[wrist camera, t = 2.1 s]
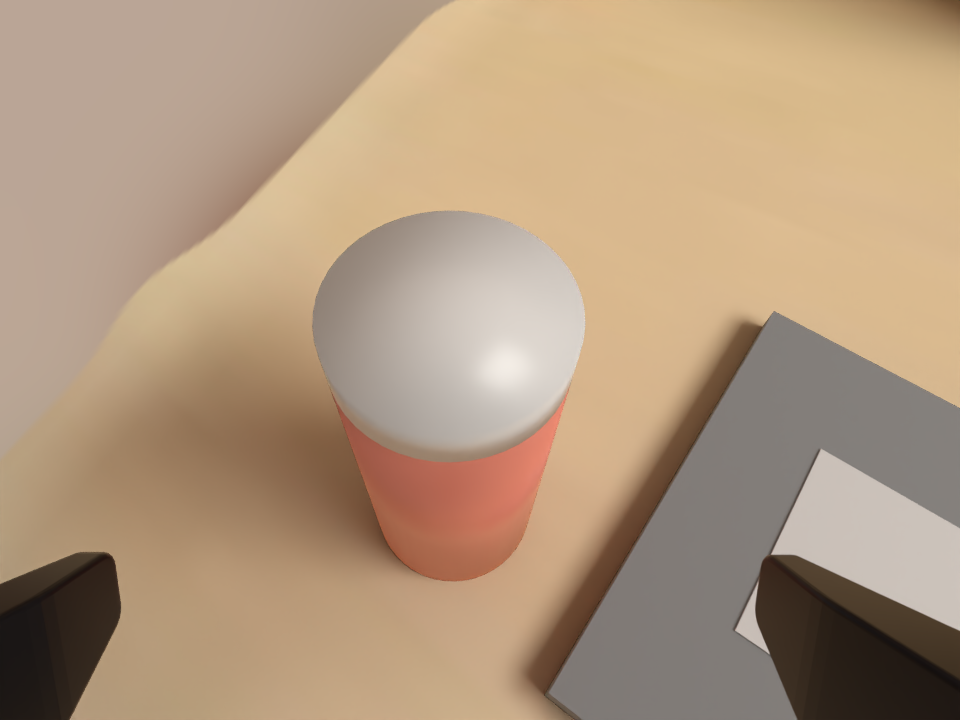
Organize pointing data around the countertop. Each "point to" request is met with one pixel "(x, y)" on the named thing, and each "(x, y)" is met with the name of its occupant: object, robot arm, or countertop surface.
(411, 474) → the salt shaker
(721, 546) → the mat
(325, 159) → the countertop surface
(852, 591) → the robot arm
